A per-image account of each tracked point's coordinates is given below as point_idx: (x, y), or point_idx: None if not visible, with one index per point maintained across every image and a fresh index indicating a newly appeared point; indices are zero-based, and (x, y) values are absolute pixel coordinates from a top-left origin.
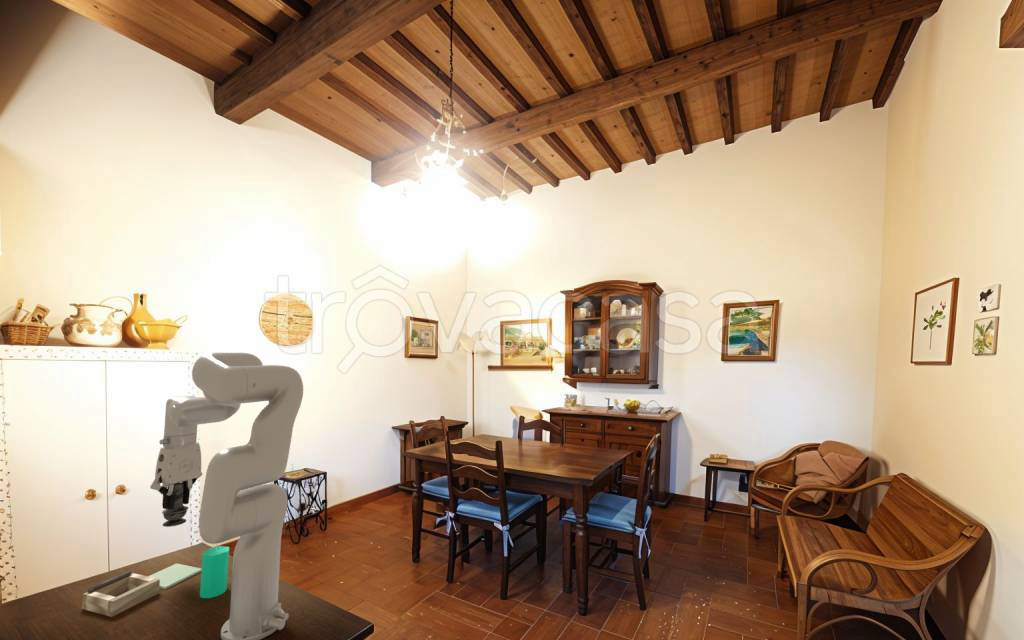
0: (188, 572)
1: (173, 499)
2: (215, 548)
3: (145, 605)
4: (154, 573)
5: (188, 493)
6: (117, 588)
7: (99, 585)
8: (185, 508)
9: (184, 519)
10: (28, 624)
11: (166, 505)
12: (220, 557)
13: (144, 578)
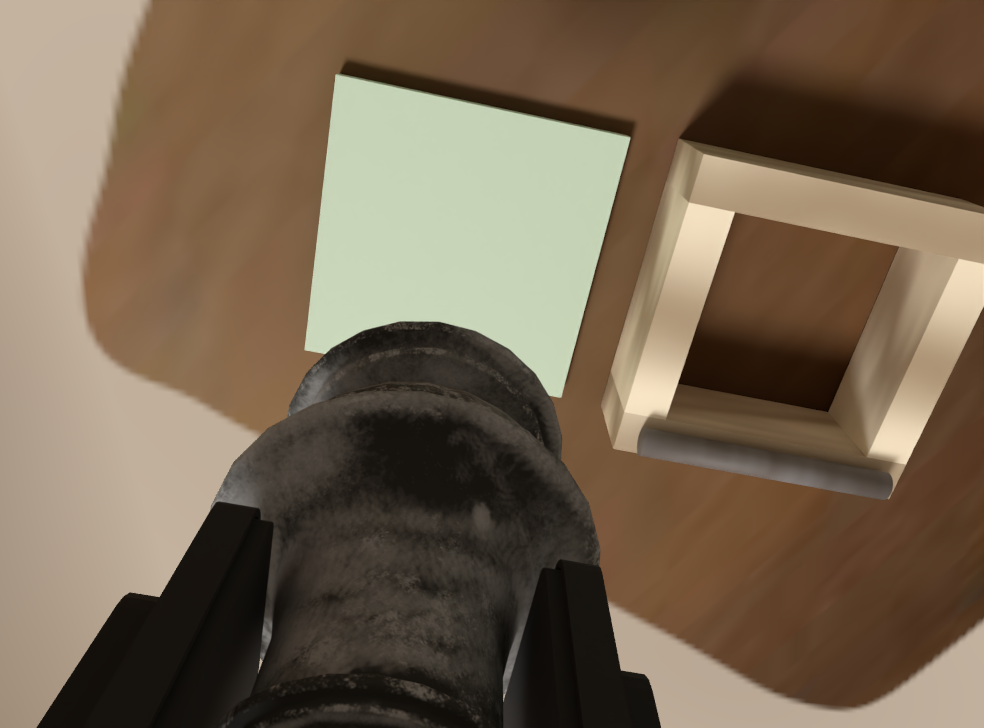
0: (409, 142)
1: (581, 714)
2: None
3: (837, 93)
4: None
5: (142, 678)
6: (719, 410)
7: (841, 472)
8: (333, 443)
9: (339, 380)
10: (973, 562)
11: (650, 687)
12: None
13: (694, 287)
